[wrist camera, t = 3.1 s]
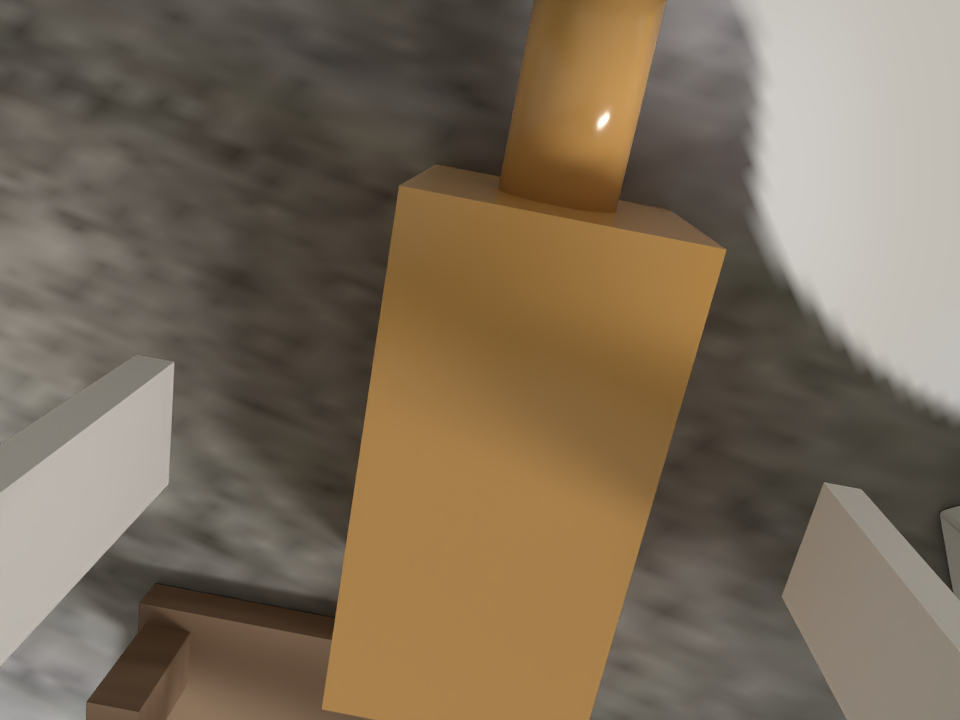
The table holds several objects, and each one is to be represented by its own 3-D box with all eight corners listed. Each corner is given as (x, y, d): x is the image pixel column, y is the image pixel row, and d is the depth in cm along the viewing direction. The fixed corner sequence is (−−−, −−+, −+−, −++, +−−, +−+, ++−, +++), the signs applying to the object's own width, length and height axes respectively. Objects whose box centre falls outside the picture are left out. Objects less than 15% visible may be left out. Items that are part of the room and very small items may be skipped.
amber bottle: (565, 599, 23) (577, 759, 17) (372, 561, 23) (322, 709, 17) (733, -42, 17) (833, -116, 12) (478, -92, 17) (454, -190, 12)
